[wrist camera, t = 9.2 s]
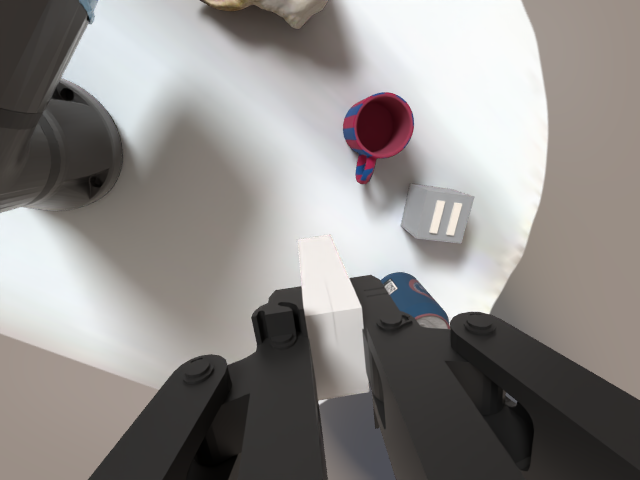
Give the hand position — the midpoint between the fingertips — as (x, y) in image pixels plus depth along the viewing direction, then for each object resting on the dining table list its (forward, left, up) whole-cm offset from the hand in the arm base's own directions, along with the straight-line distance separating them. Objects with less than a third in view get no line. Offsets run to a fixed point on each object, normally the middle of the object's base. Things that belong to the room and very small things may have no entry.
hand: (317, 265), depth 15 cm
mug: (+9, +4, -30) cm, 31 cm away
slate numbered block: (+17, -6, -30) cm, 35 cm away
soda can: (+12, -18, -30) cm, 37 cm away
